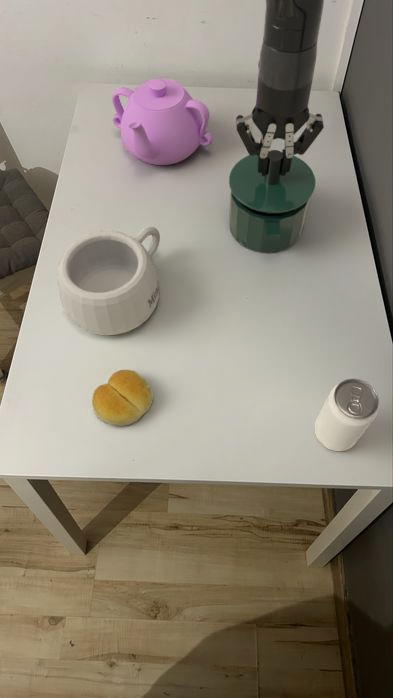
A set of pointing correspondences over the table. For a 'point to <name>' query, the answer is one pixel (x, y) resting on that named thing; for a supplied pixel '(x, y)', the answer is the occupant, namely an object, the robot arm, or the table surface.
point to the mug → (109, 281)
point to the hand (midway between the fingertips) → (273, 172)
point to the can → (346, 414)
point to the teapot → (161, 122)
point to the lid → (272, 184)
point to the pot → (265, 227)
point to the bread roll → (122, 398)
